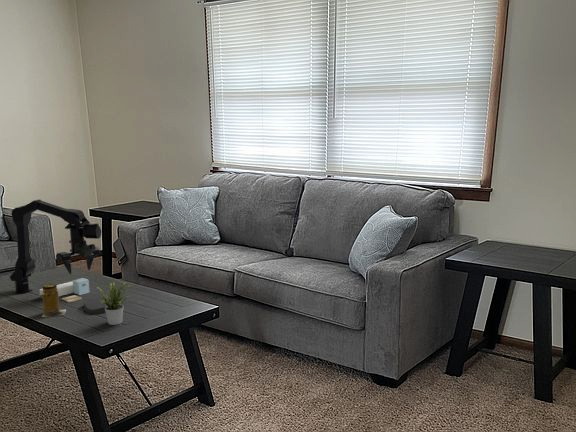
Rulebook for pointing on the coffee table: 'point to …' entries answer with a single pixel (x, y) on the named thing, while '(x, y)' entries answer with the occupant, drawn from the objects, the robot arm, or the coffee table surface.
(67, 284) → the power strip
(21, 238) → the robot arm
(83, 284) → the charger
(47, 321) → the coffee table surface
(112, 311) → the house plant
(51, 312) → the condiment
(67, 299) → the board
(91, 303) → the media streaming box
